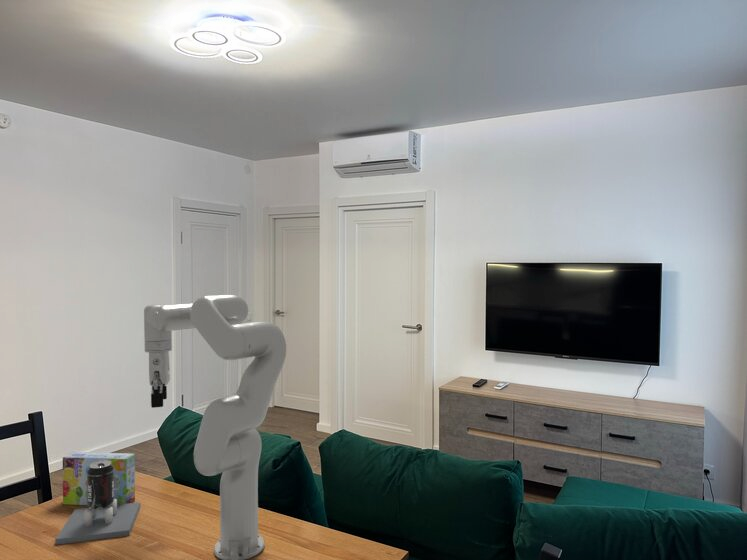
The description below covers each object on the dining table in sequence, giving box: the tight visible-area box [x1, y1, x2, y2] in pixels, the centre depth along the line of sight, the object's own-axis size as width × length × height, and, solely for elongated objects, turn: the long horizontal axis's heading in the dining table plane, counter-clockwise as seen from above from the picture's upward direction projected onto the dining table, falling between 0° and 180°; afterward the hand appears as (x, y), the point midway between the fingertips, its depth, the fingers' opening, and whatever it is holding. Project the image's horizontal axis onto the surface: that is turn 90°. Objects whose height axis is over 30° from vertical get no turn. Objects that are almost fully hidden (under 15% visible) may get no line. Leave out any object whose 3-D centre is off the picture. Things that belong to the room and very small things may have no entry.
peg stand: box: [54, 499, 141, 545], centre depth 149 cm, size 18×18×6 cm
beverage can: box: [87, 460, 114, 509], centre depth 149 cm, size 7×7×12 cm
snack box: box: [62, 451, 136, 506], centre depth 163 cm, size 21×6×15 cm, turn 84°
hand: (159, 403), depth 156 cm, fingers open, 9 cm apart
